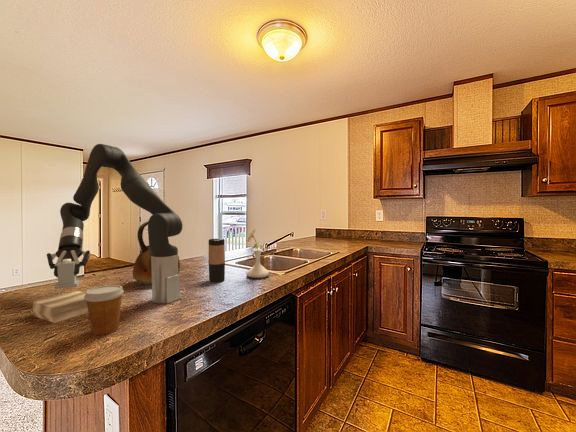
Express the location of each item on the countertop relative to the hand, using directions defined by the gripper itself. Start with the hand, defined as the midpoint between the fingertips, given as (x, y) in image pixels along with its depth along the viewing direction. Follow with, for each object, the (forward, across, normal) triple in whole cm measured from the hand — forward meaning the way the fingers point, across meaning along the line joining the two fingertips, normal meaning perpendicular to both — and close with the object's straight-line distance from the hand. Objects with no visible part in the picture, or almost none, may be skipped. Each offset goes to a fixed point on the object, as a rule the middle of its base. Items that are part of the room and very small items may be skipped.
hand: (66, 275), depth 103 cm
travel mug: (+7, +57, +8) cm, 58 cm away
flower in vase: (+10, +76, +6) cm, 77 cm away
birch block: (+17, +2, -2) cm, 17 cm away
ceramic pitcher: (-1, +32, +16) cm, 35 cm away
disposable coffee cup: (+33, +15, -18) cm, 41 cm away
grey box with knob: (+2, 0, +4) cm, 5 cm away
